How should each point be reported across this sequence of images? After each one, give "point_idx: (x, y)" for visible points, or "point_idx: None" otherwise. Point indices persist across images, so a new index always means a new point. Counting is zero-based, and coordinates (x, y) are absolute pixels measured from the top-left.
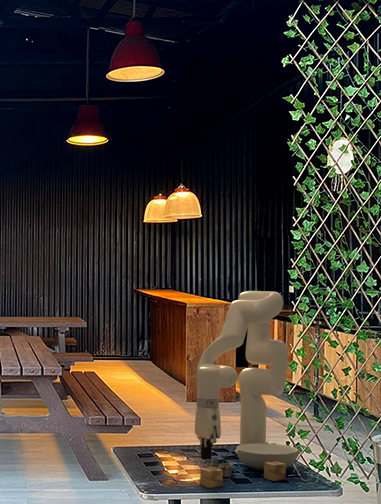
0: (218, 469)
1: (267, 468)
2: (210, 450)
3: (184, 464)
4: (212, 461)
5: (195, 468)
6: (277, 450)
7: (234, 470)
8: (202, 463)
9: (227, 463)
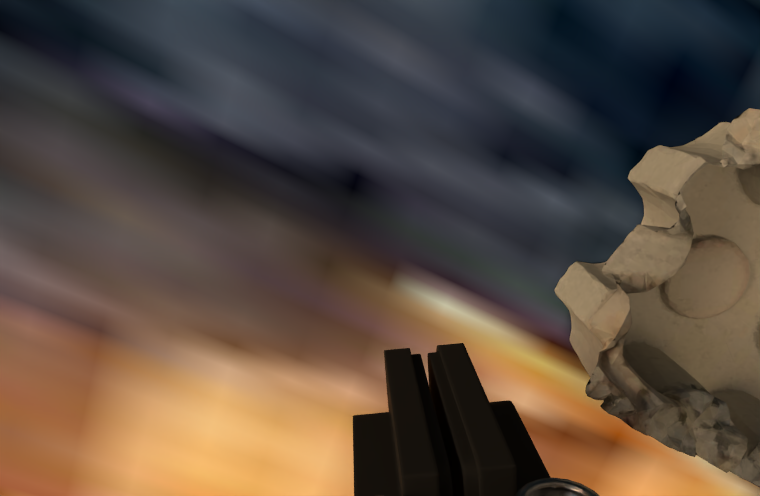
0: None
1: None
2: (541, 462)
3: (98, 471)
4: (680, 420)
5: None
6: None
7: (661, 19)
8: (76, 239)
9: (724, 164)
